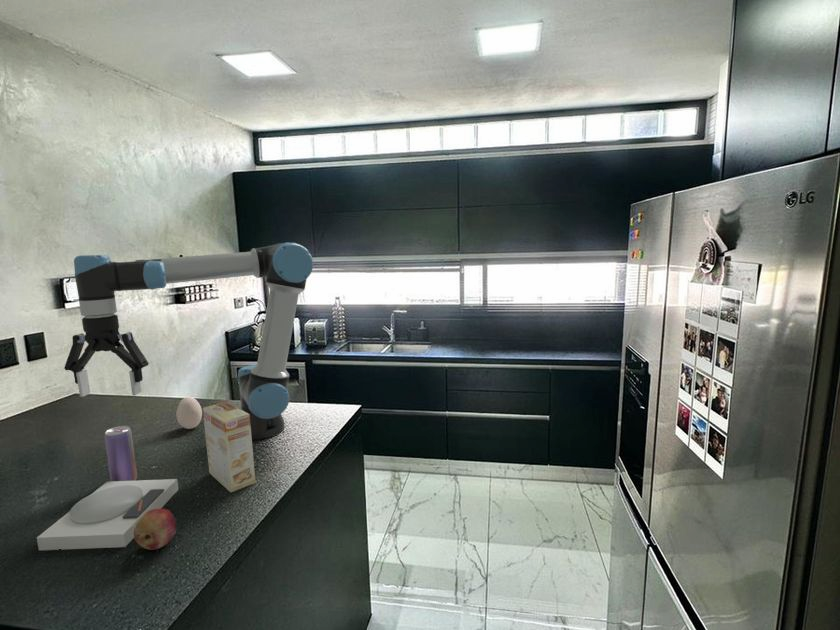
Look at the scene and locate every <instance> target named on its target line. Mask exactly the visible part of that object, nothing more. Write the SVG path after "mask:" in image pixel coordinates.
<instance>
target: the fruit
mask: <svg viewBox="0 0 840 630" xmlns="http://www.w3.org/2000/svg"><path fill="white" fill-rule="evenodd" d="M171 511H172V510H169V509H168V508H167V509H166V508H161V509H153V510H150V511H148V512H147V513H145V514H144V515H143V517H142V518H141V519H140V520H139V521H138V522H137V524H136V527H135V529H134V538H133V539H134V540H135V542H136V543H137V544H138V545H139V546H140V547H141V548H142V549H146V550H149V551H153V550H158V549H161V548H163V547H164V546H166V545H168V543H170V541H171V540H172V539H173V537H174V536H175V534H176V532H177V528H178V522H177V519H176V517H175V516H174V515H173V513H172V512H171Z"/></svg>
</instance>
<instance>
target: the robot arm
mask: <svg viewBox="0 0 840 630" xmlns="http://www.w3.org/2000/svg"><path fill="white" fill-rule="evenodd" d="M73 265H74V278H75V283H76V291H77V295H78V303H79V310H80V316H82V319H81V323H82V324H81V325H82V329H83V330H82V331H83V332H84V333H85V334H84V333H82V332H81V333H78V334H74V335H72V344H71V348H70V351H69V353H68V356H67V359H66V362H65V364H64V368H63V369H64V370H65V371H71V372H72V373H73V377H74V383H75V384H76V385H78V386H77V387H78V392H79V393H78V394H79V397H80V398H83V397H86V396H88V395H89V394H91V389H90V383H89V377H88V375H89V374H88V369H86V368H85V367H86V366H87V364H88V362H89V361H90V360H91V358H92V357H93V356H94V354H95V353H96V352H97V353H98V352H101V351H102V352H111V353H113V354H115V355H116V356H117V357H118V358H119V359H120V360H121V361H122V362H123V363H124V364H126V365H127V366H128V367H129V369H131V370H130V371H129V370H128V371H129V372H128V374H129V380H130V388H131V394H132V396H136V395H139V394H141V393H142V384H141V382H142V381H143V371H142V369H144V368H145V367H148V366H149V361H148V360H147V358H146V356H145V355H144V353H143V352H142V351H141V349H140V348H139V346H138V345H137V343H136V342H135V339H134V335H133V333H132V332H130V331H128V332H125V333H120V331H119V329H120V323H119V316H118V315H117V314H116V313H117V312H118V309H117V302H116V295H115V292H122V291H140V290H151V291H153V290H156V289H157V290H158V289H164V288H165V287H166V286H167V285H169V284H176V283H177V284H178V283H188V282H199V281H208V280H218V279H228V278H238V277H240V278H241V277H248V276H254V277H255V278H258V279H259V278H266V282H265V284H266V286H268V288H269V293H268V300H267V304H266V305H267V306H266V310H265V316H264V317H265V318H264V322H263V329H262V333H261V340H260V345H259V350H258V357H257V363H256V364H253V365H252V364H251V365H247V366H243V367H241V368H239V369H238V372H237V373H238V374H237V379H238V388H239V397H240V398H239V399H240V409H241V410H243V411H245V412H246V413H248V414H250V425H251V437H252V441H253V440H263V439H268V438H271V437H274V436H277V435H279V434H280V433H282V432H283V431H284V430H285V420H284V417H283V415H282V413H284V412H285V411H286V409H287V408H288V406H289V404H290V394H289V393H290V392H289V390H288V386H289V380H290V373H289V372H288V370H287V363H288V358H289V357H288V356H289V352H290V345H291V340H292V335H293V329H294V322H295V317H296V312H297V306H298V302H299V301H298V300H299V295H300V294H301V293H302V292H305V289H306V286H307V285H306V284H307V279H309V277H310V276H311V274H312V272H313V270H314V269H313V268H314V259H313V256H312V254H311V253H310V251H309V250H308V249H307V248H306V247H305V246H303V245H301V244H299V243H296V242H288V241H287V242H282V243H281V242H280V243H276V244H272V245H268V246H262V247H253V248H251V250H250V251H246V252H245V251H243V252H242V251H241V252H240V251H239V252H231V253H217V254H207V255H206V254H203V255H191V256H182V257H181V256H179V257H177V256H176V257H169V258H168V257H166V258H154V259H151V258H150V259H137V260H134V261H120V262H118V261H117V262H116V261H112V260H111V258H110V256H109V255H108V254H97V255H96V254H91V255H90V254H89V255H88V254H87V255H86V254H85V255H77V256H75V257H74V259H73ZM85 342H86V343H87V346H86V347H85V349H84V351H82V350H83V348H84V346H85ZM121 342H122V343H123V344H122V343H121ZM82 352H83V353H82Z"/></svg>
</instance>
